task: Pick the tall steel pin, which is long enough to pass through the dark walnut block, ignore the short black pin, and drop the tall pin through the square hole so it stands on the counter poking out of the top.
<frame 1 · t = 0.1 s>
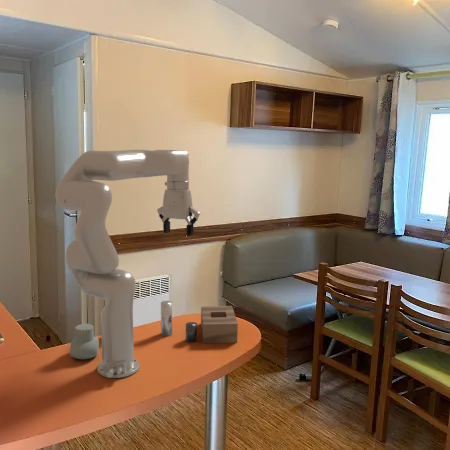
hand: (178, 234, 167), 37 cm above the breakfast bar, tool pointing down, fingers open, 9 cm apart
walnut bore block: (218, 332, 174), on the breakfast bar
tall steel pin: (166, 333, 172), on the breakfast bar
air freshener: (85, 356, 154), on the breakfast bar
short black pin: (191, 340, 167), on the breakfast bar
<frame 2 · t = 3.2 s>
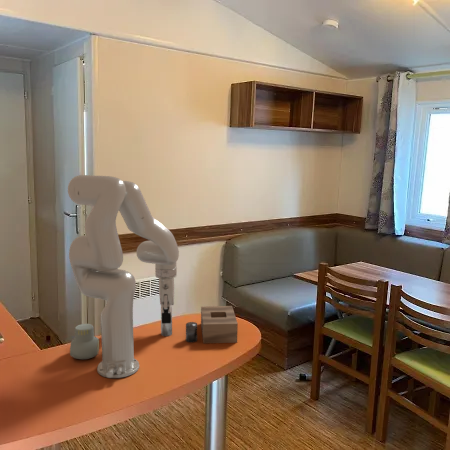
hand: (166, 320, 171), 5 cm above the breakfast bar, tool pointing down, fingers closed on tall steel pin, 4 cm apart
tall steel pin: (166, 333, 172), on the breakfast bar, touching gripper
everything else where it was.
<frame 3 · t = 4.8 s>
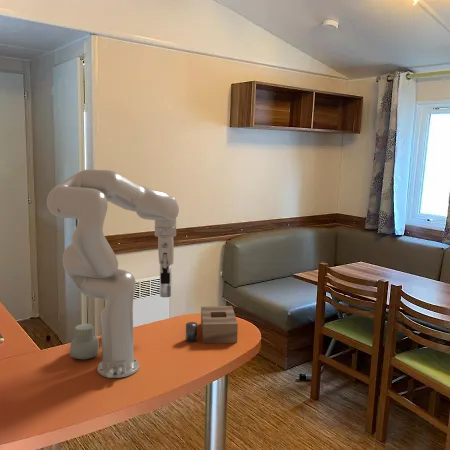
hand: (165, 281, 168), 20 cm above the breakfast bar, tool pointing down, fingers closed on tall steel pin, 4 cm apart
tall steel pin: (165, 295, 169), point 15 cm above the breakfast bar, touching gripper
everything else where it was.
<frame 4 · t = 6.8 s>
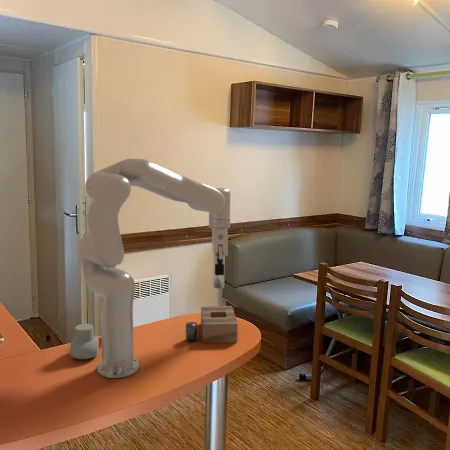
hand: (218, 272, 170), 23 cm above the breakfast bar, tool pointing down, fingers closed on tall steel pin, 4 cm apart
tall steel pin: (218, 286, 171), point 18 cm above the breakfast bar, touching gripper
everything else where it was.
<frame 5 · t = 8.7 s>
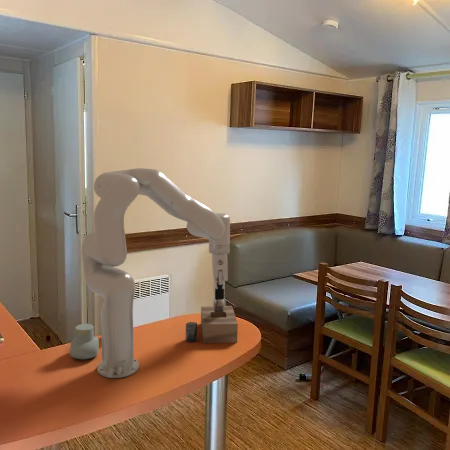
hand: (219, 296, 172), 14 cm above the breakfast bar, tool pointing down, fingers closed on tall steel pin, 4 cm apart
tall steel pin: (218, 310, 173), point 9 cm above the breakfast bar, touching gripper
everything else where it was.
when the fingers open (9 cm above the breakfast bar, at t = 10.3 s): tall steel pin drops 3 cm, resting in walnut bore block.
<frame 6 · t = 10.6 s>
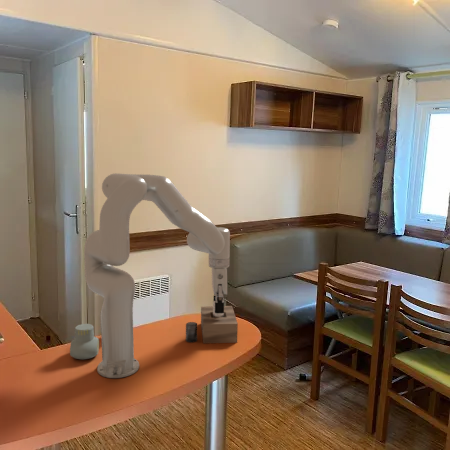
hand: (218, 308, 173), 9 cm above the breakfast bar, tool pointing down, fingers open, 6 cm apart
tall steel pin: (218, 332, 174), resting in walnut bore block
everything else where it was.
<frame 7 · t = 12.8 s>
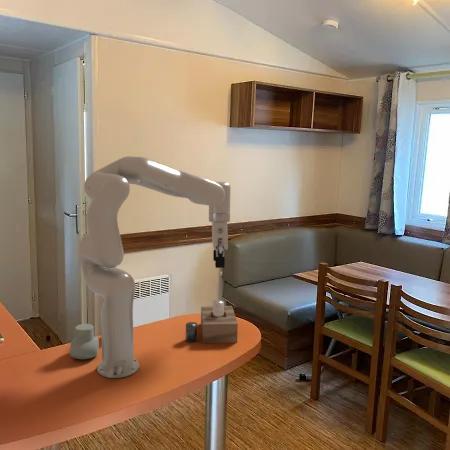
hand: (218, 263, 170), 26 cm above the breakfast bar, tool pointing down, fingers open, 9 cm apart
nothing on the breakfast bar moved.
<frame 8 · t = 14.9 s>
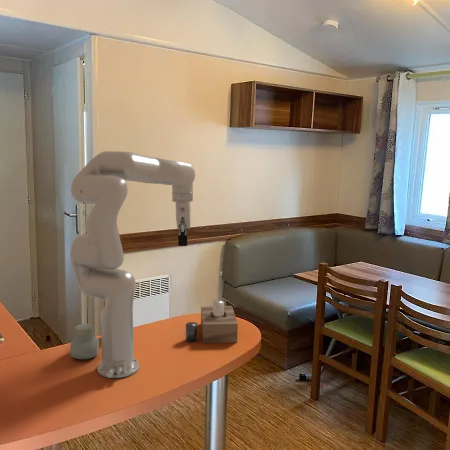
hand: (182, 242, 175), 32 cm above the breakfast bar, tool pointing down, fingers open, 9 cm apart
nothing on the breakfast bar moved.
at the end: tall steel pin 0.0 cm off-centre on the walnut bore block, point 0.0 cm above the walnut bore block's base; tall steel pin tilted 0°; short black pin moved 0.0 cm from its start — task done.
